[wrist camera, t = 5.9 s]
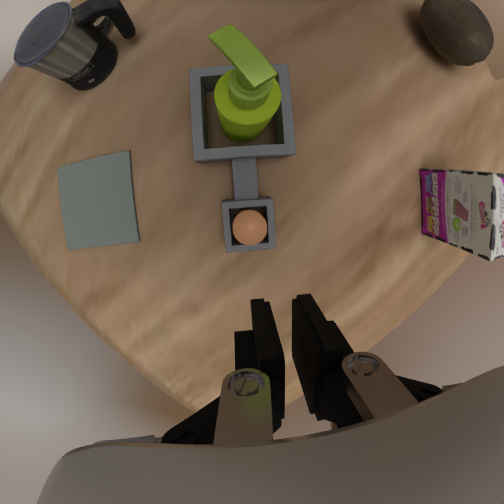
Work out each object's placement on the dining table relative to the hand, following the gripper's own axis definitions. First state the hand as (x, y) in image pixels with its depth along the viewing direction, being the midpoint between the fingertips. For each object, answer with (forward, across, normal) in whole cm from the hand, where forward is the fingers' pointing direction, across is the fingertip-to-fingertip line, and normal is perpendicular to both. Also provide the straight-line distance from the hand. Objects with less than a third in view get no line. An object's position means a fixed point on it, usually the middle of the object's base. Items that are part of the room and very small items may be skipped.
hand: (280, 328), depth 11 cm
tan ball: (+24, 0, 0) cm, 24 cm away
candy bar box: (+27, -31, -2) cm, 41 cm away
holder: (+27, 0, -8) cm, 28 cm away
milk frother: (+27, +22, -32) cm, 47 cm away
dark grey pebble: (+27, -37, -34) cm, 57 cm away
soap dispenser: (+27, 0, -14) cm, 31 cm away
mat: (+27, +22, -5) cm, 35 cm away
